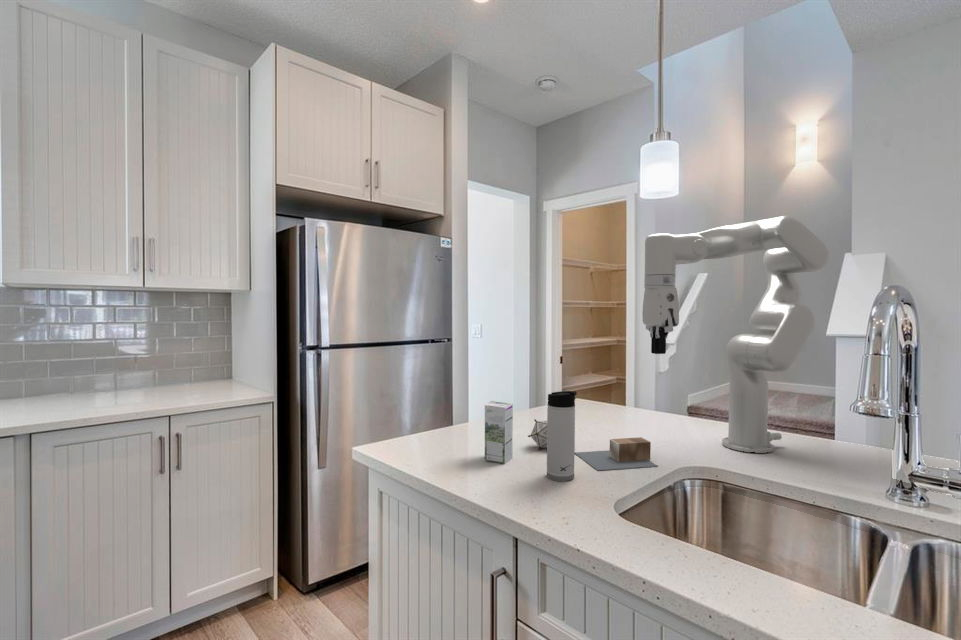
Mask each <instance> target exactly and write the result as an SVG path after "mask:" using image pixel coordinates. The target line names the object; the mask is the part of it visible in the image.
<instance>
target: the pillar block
mask: <svg viewBox="0 0 961 640" xmlns="http://www.w3.org/2000/svg"><path fill="white" fill-rule="evenodd" d="M609 450H610V457H611V458H613V459H614V460H616V461H617V462H622V461H637V460H649V461H651V450H652V449H651V441H650V440H647V439H645V438H643V437H642V436H641V437H625V438H623V437H621V438H609Z"/></svg>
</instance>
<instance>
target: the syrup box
mask: <svg viewBox="0 0 961 640" xmlns="http://www.w3.org/2000/svg"><path fill="white" fill-rule="evenodd" d="M513 415H514V404H513V402H508V401H507V402H505V401H497V400H496V401H495V400H493V401H489V402H487V403H486V404H484V461H485V460H486V462H491V461H492V463H497V462H498V463H499V464H506V463H508V462H509V461H510V460H512V459H513V453H514V452H513V436H514V435H513V430H514V429H513V428H514V427H513V425H514V422H513V419H514V416H513Z"/></svg>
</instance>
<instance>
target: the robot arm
mask: <svg viewBox="0 0 961 640" xmlns="http://www.w3.org/2000/svg"><path fill="white" fill-rule="evenodd" d="M644 242H645V243H644V281H643V285H644V286H643V287H644V288H643V289H644V293H643V299H642V300H643V302H642V323H643V324H644V325H645V330H647V331H649V337H650V338H651V339H650V340H651V346H650V347H651V348H650V352H651V354H653V355H654V354H655V355H665V354H666V352H667V338H668V335H669V333H672V332H673V331H674V327H675V328H676V327H678V326H679V323H680V309H679V307H680V306H679V304H680V303H679V296H678V290H677V287H676V278H677V277H676V274H677V273H676V272H677V270H676V267H677V266H678V265H687V264H695V263H698V262H701V261H702V260H716V259H717V260H718V259H724V258H725V259H727V258H733V257H737V256H742V255H747V254H753V253H757V252H762V251H765V252H764V255H763V259H762V262H763V267H764V270H765V274H766V277H767V287H766V290H765V292H764V294H763V295H762V297H761V299H760V300H759V301H758V303H757V305H756V307H755V308H754V310H753V312H752V313H751V316H750V318H749V323H748V325H749V329H751V331H752V332H753V333H742V334H741V333H740V334H737V335H735V336H734V337H733V336H732V338H730V340H729V341H728V343H727V344H726V348H725V349H726V350H725V351H726V352H725V353H726V360H727V365H728V371H729V390H728V391H729V392H728V393H729V394H728V396H729V398H728V429H727V430H728V434H727V437H724V438H722V441H721V444H722V445H723V446H724V447H726V448H727V449H730V448H731V450H734V451H737V452H738V451H739V452H743V451H744V453H750V452H755V453H754V454H767V452H768V453H771V452H774V445H773V444H772V443H771V442H772V441H778V440H779V441H780V440H782V439H783V437H782V436H783V435H782V434H781V433H780V432H772V433H771V432H770V431H768V419H769V416H768V414H769V412H768V410H769V383H768V379H767V375H766V374H765V372H770V373H783V372H787V371H788V370H789V369H791V368H792V367H793V365H794V364H795V362H796V361H797V360H798V358H799V355H800V354H801V352H802V351H803V350H804V348H805V346H806V344H807V342H808V341H809V339H810V337H811V335H812V333H813V330H814V328H815V327H814V326H815V314H814V312H813V310H812V309H811V308H810V307H809V306H807V305H805V304H803V303H799V300H800V298H801V288H800V286H799V283H798V281H797V279H796V277H795V274H797V273H798V274H802V273H812V272H813V273H814V272H817V271H821V270H822V269H824V268H825V267H826V266H827V264H828V262H829V260H830V253H829V248H828V246H827V245H826V244H825V243H824V241H823V240H822V239H821V238H819V237H818V236H817V235H816V234H815V233H814V232H813V231H812V230H810V229H809V228H808V227H807V226H806V225H805V224H803V223H802V222H801V221H799V220H798V219H796V218H794V217H793V216H789V215H781V216H776V217H775V216H774V217H770V218H765V219H758V220H752V221H747V222H741V223H736V224H734V223H733V224H730V225H723V226H719V227H714V228H710V229H707V230H704V231H700V232H695V233H688V234H687V233H686V234H671V233H655V234H653V233H652V234H650V235H648V236H646V238H645V241H644ZM754 333H755V334H754Z"/></svg>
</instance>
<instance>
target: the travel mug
mask: <svg viewBox="0 0 961 640" xmlns="http://www.w3.org/2000/svg"><path fill="white" fill-rule="evenodd" d="M577 394H578V393H577V391H576V390H562V391H553V392H551V393H548V394H547V400H548V401H547V406H546V407H547V410H546V411H547V416H546V417H547V418H546V421H547V447H546V476H547V478H548V479H550V480H552V481H556V482H569V481H571V480H573V479H574V478H575V457H576V456H575V455H576V454H575V453H576V452H575V450H576V449H575V447H576V446H575V442H576V440H575V439H576V438H575V437H576V436H575V434H576V430H575V429H576V409H575V408H576V396H577Z"/></svg>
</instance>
